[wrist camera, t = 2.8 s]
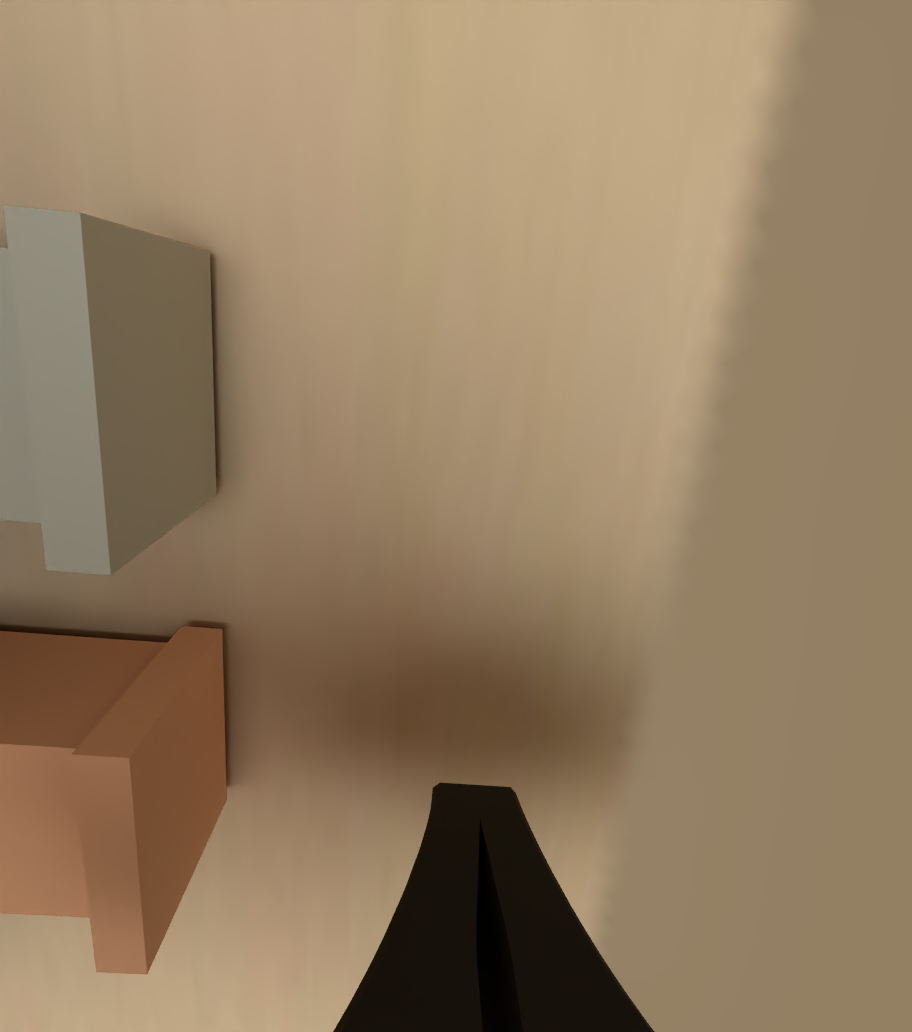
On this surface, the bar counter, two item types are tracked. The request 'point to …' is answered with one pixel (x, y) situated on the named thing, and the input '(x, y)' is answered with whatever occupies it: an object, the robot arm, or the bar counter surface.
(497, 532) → the bar counter surface
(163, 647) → the flanged terracotta block
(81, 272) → the plunger grey
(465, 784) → the robot arm
